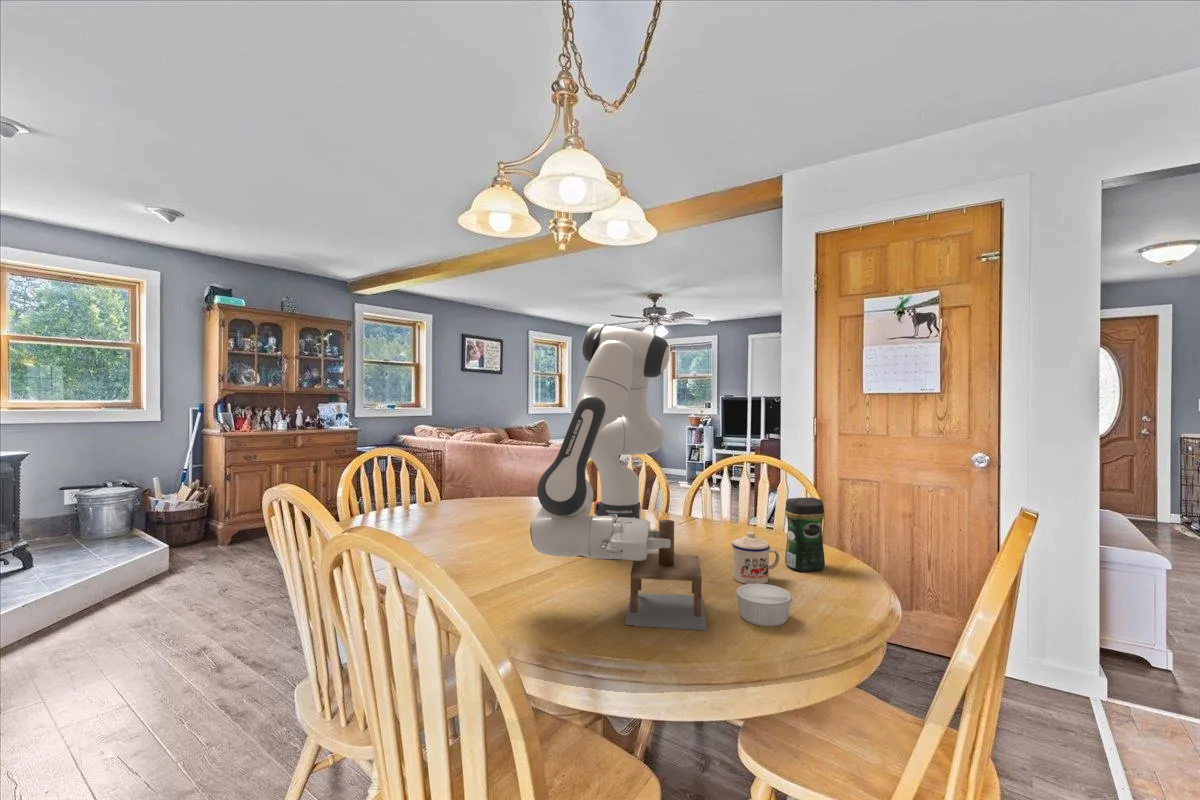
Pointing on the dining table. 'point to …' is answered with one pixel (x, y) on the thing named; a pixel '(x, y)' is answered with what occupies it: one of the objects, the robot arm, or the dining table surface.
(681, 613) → the grey rubber mat
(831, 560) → the dining table surface
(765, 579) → the teacup with lid
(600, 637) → the dining table surface
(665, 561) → the walnut cover
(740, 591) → the ramekin
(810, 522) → the coffee jar
